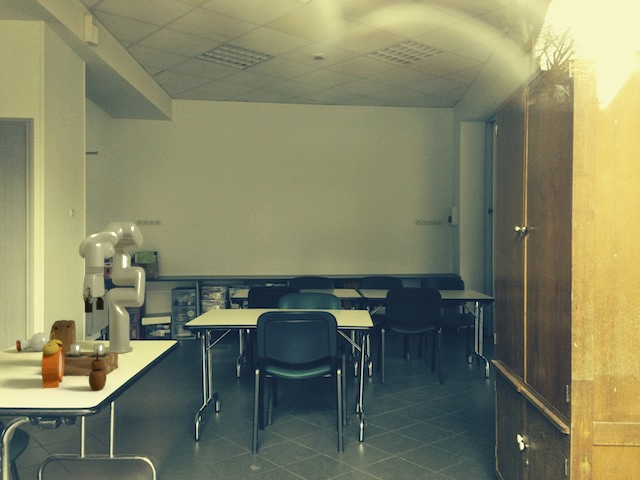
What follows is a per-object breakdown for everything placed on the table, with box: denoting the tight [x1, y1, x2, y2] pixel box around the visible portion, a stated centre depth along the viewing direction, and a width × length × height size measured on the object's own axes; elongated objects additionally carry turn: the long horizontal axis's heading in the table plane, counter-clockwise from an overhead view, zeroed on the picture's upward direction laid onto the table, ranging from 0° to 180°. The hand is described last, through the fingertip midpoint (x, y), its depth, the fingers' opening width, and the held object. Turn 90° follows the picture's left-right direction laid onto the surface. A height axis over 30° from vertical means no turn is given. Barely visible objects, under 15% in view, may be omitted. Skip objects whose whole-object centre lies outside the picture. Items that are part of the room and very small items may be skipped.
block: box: [49, 319, 77, 353], centre depth 243 cm, size 11×8×20 cm
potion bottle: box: [15, 332, 50, 353], centre depth 271 cm, size 9×10×15 cm
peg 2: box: [93, 342, 105, 357], centre depth 231 cm, size 4×4×7 cm
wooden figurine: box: [88, 349, 107, 391], centre depth 206 cm, size 7×6×15 cm
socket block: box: [63, 351, 119, 377], centre depth 232 cm, size 14×22×7 cm, turn 89°
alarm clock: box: [41, 332, 64, 390], centre depth 212 cm, size 13×6×20 cm, turn 17°
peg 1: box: [70, 342, 82, 357], centre depth 231 cm, size 4×4×7 cm
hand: (94, 311), depth 232 cm, fingers open, 9 cm apart
